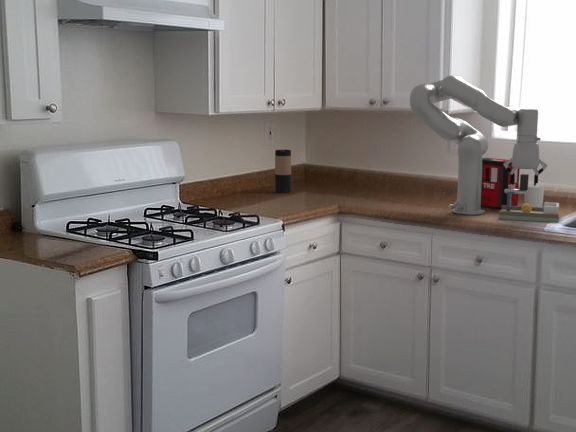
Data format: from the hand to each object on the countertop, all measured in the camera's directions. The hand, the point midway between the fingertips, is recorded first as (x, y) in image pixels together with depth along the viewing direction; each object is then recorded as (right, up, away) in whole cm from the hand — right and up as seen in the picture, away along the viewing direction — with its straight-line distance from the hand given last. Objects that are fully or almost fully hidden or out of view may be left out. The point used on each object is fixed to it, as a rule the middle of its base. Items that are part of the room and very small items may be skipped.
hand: (524, 184), depth 312 cm
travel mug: (-95, -1, +66) cm, 116 cm away
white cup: (+10, -10, +20) cm, 24 cm away
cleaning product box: (-4, -9, +27) cm, 29 cm away
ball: (+1, -9, +1) cm, 10 cm away
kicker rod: (-3, -11, +3) cm, 11 cm away
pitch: (+2, -13, +1) cm, 13 cm away
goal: (+10, -12, -1) cm, 16 cm away
